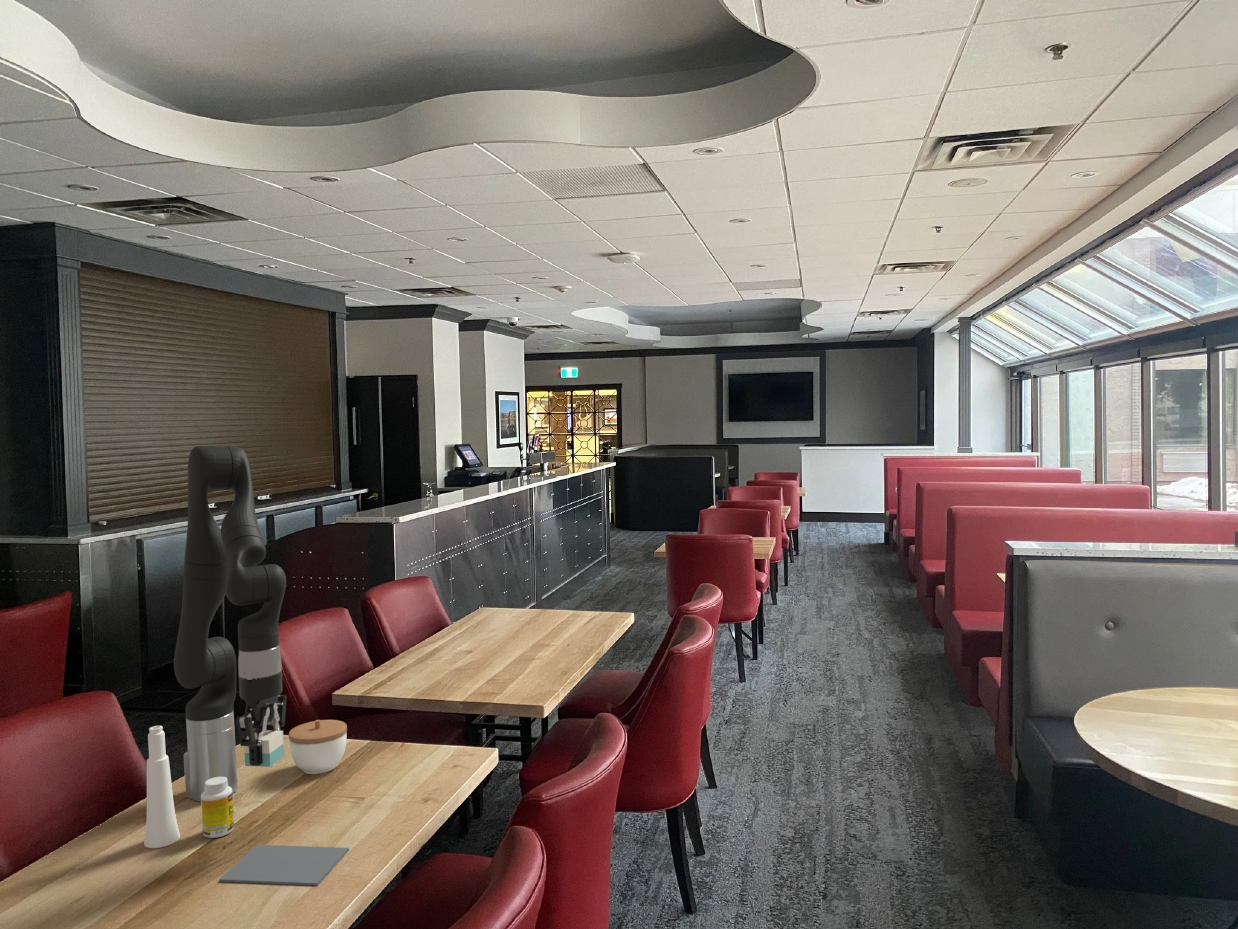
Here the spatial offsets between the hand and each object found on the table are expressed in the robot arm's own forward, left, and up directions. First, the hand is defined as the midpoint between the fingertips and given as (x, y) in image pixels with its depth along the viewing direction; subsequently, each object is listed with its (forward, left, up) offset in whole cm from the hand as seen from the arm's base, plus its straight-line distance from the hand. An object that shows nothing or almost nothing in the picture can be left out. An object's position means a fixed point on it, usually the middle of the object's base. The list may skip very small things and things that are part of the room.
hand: (264, 758), depth 160 cm
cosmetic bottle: (-20, -3, -15) cm, 25 cm away
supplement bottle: (-11, +1, -15) cm, 19 cm away
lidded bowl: (-6, +32, -15) cm, 36 cm away
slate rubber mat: (+9, -10, -15) cm, 20 cm away
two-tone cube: (0, 0, 0) cm, 0 cm away
